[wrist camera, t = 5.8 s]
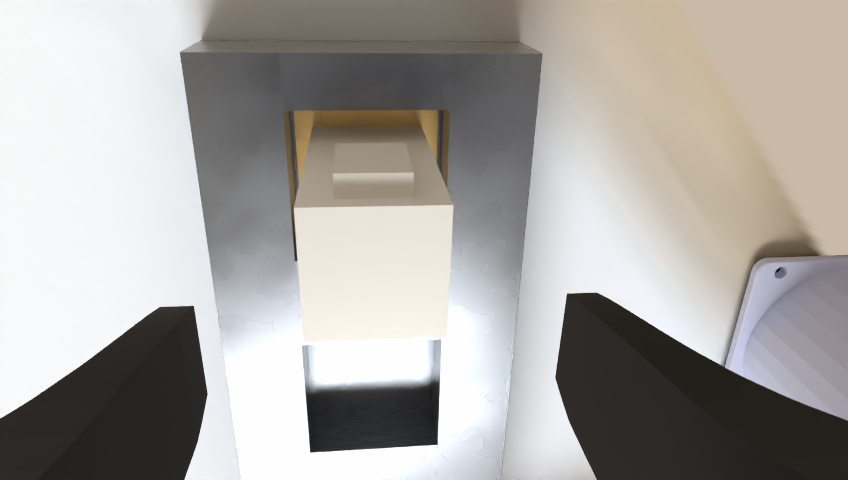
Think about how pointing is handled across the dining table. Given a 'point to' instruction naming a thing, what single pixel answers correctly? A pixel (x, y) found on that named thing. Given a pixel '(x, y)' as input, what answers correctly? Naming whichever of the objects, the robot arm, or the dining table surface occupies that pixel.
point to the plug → (372, 236)
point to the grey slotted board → (278, 267)
